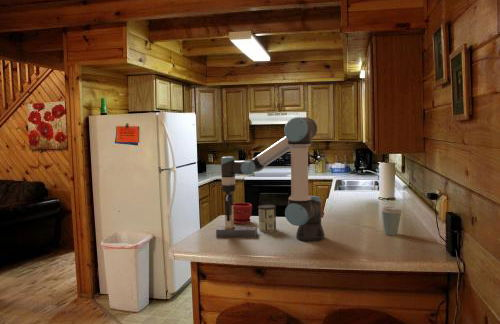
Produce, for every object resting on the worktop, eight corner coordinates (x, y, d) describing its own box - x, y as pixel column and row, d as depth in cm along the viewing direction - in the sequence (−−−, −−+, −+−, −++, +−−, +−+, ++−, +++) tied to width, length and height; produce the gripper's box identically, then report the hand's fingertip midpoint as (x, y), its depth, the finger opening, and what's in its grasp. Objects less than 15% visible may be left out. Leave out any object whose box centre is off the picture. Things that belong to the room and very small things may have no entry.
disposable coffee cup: (386, 230, 240) (387, 204, 239) (405, 233, 232) (405, 207, 231) (377, 234, 233) (377, 207, 231) (396, 237, 225) (396, 210, 224)
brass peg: (234, 230, 241) (233, 204, 239) (232, 232, 237) (231, 206, 235) (227, 230, 241) (226, 204, 240) (225, 232, 237) (224, 206, 236)
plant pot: (243, 225, 260) (243, 206, 259) (227, 223, 268) (226, 204, 267) (256, 221, 271) (256, 203, 270) (240, 219, 279) (239, 201, 278)
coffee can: (266, 226, 256) (266, 203, 255) (279, 229, 249) (279, 205, 248) (255, 230, 249) (254, 206, 248) (268, 232, 242) (267, 208, 241)
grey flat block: (257, 233, 241) (257, 226, 241) (255, 237, 233) (255, 230, 233) (219, 233, 244) (219, 226, 244) (216, 236, 236) (216, 229, 236)
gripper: (224, 182, 246) (226, 221, 248) (218, 186, 229) (220, 229, 231) (237, 182, 244) (238, 222, 247) (232, 186, 228) (233, 229, 230)
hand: (229, 225), depth 239 cm, fingers closed on brass peg, 4 cm apart
